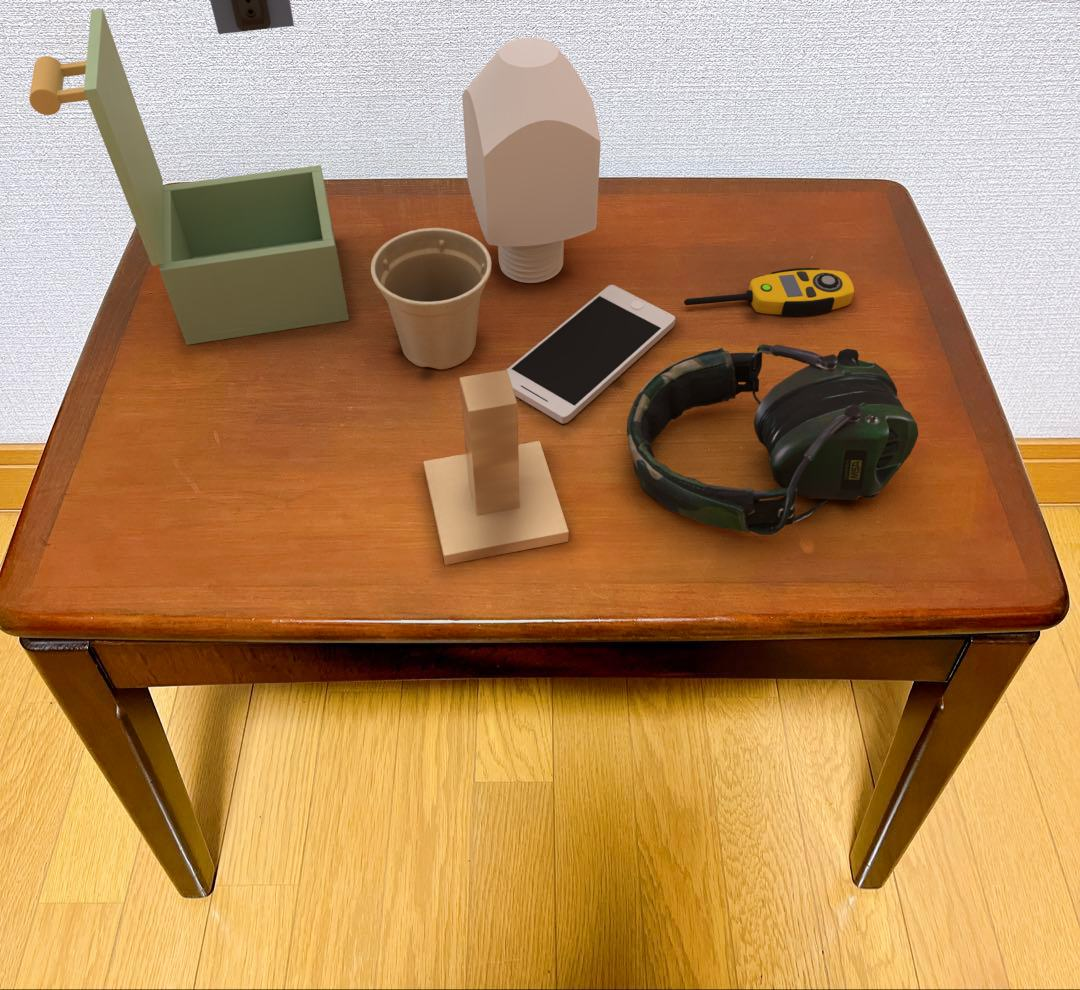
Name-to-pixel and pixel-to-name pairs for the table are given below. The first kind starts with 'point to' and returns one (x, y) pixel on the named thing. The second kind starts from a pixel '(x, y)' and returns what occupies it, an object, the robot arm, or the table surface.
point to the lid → (110, 124)
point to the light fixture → (531, 156)
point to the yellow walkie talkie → (793, 292)
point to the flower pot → (433, 292)
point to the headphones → (778, 434)
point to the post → (493, 481)
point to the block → (227, 24)
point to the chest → (251, 255)
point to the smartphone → (588, 352)
